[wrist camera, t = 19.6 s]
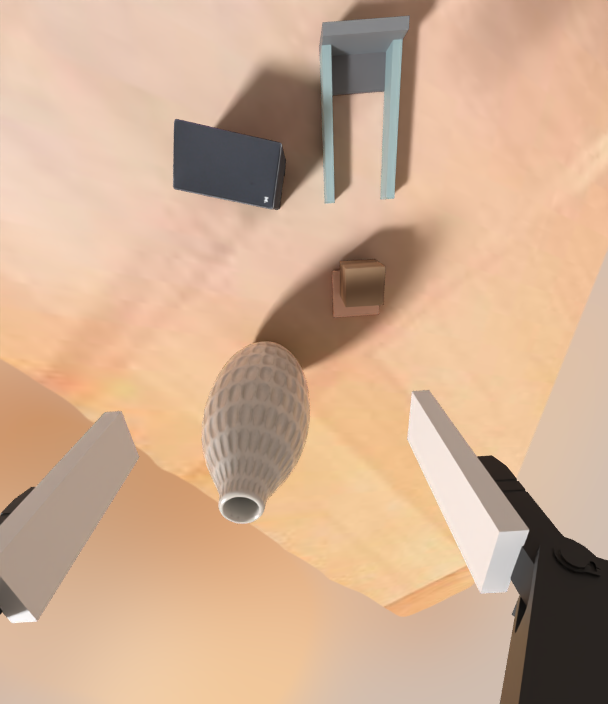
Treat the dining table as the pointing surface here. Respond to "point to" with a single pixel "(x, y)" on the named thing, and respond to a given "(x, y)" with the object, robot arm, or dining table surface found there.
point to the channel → (362, 83)
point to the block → (362, 282)
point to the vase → (255, 427)
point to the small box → (227, 165)
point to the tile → (339, 306)
